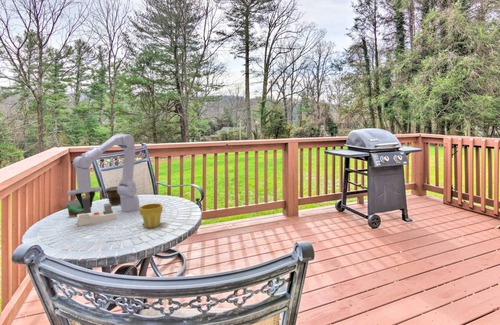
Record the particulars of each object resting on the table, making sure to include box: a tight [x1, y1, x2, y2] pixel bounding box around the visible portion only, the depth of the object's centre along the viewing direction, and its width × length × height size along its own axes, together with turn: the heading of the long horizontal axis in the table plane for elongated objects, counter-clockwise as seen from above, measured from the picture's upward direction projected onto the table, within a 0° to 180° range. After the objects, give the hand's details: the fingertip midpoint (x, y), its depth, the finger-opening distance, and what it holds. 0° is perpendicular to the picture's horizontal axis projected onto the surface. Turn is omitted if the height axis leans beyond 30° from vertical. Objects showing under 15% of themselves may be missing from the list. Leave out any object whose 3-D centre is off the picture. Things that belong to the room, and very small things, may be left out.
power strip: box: [76, 208, 117, 227], centre depth 148 cm, size 17×10×5 cm, turn 122°
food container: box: [65, 194, 87, 218], centre depth 158 cm, size 12×6×10 cm, turn 168°
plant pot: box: [139, 202, 163, 228], centre depth 141 cm, size 10×10×10 cm
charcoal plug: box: [103, 202, 113, 214], centre depth 151 cm, size 3×4×7 cm
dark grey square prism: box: [82, 196, 92, 214], centre depth 143 cm, size 3×4×7 cm
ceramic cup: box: [101, 186, 121, 206], centre depth 178 cm, size 13×10×10 cm
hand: (86, 207), depth 143 cm, fingers closed on dark grey square prism, 3 cm apart
